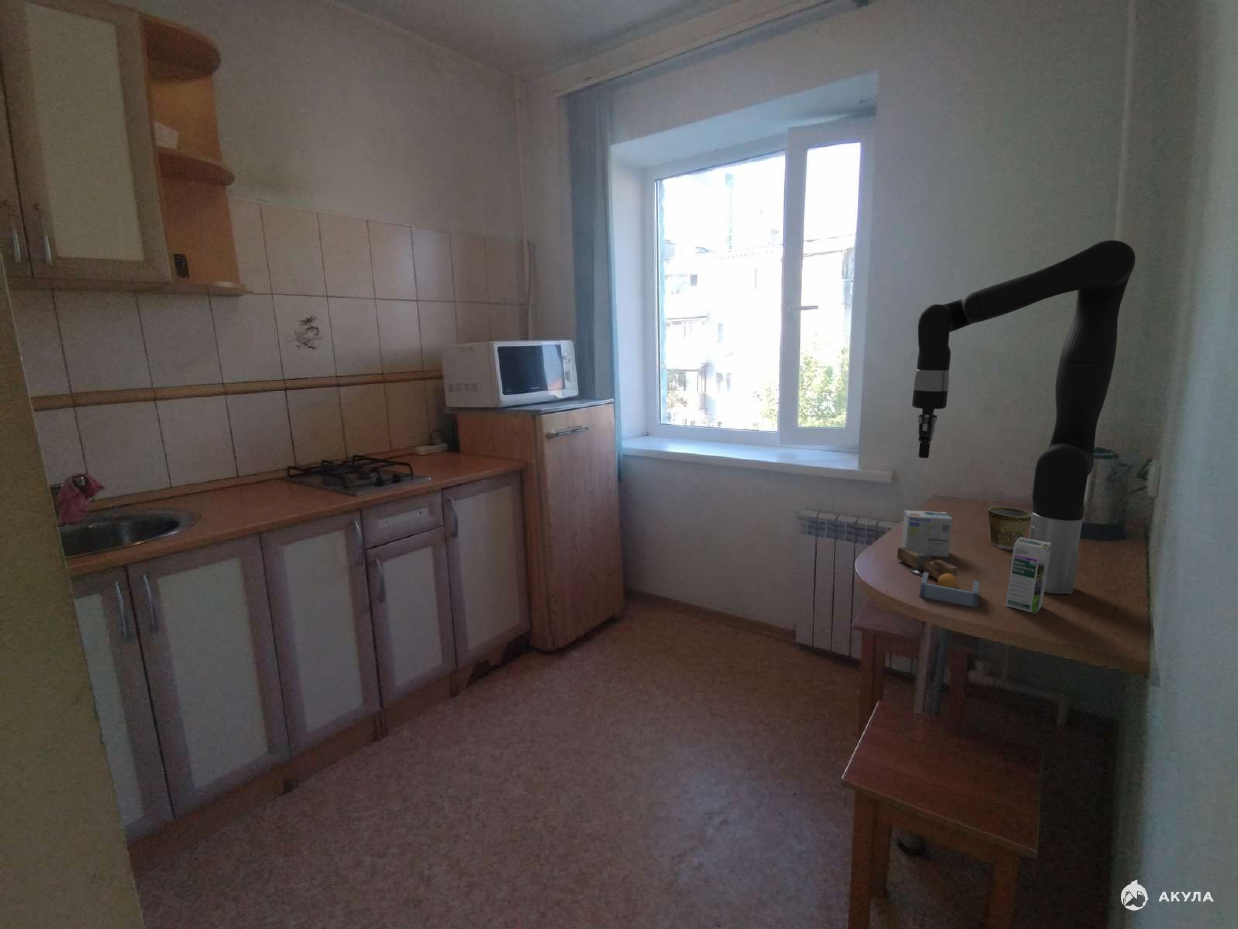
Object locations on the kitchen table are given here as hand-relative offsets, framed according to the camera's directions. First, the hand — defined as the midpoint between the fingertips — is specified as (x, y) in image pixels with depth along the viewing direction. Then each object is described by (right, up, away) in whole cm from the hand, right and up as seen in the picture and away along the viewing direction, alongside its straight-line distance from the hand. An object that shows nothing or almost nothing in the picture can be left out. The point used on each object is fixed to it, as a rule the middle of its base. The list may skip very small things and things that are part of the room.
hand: (923, 457), depth 146 cm
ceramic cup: (+31, -24, +16) cm, 42 cm away
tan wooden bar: (-2, -28, -4) cm, 29 cm away
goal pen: (-3, -31, -17) cm, 35 cm away
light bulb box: (+5, -26, +10) cm, 28 cm away
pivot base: (-2, -28, -4) cm, 29 cm away
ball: (-3, -27, -14) cm, 31 cm away
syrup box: (+10, -32, -22) cm, 40 cm away
